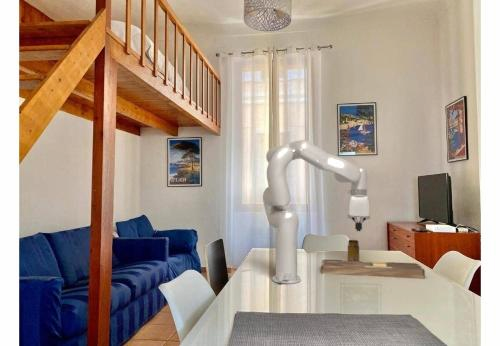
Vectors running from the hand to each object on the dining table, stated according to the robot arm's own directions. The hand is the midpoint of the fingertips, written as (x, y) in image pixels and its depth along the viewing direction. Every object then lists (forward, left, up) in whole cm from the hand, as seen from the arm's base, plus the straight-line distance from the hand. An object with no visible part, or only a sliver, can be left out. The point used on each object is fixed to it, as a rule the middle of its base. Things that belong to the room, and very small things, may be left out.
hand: (358, 230), depth 181 cm
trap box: (0, -5, -20) cm, 21 cm away
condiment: (+22, +1, -20) cm, 30 cm away
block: (0, -9, -20) cm, 22 cm away
